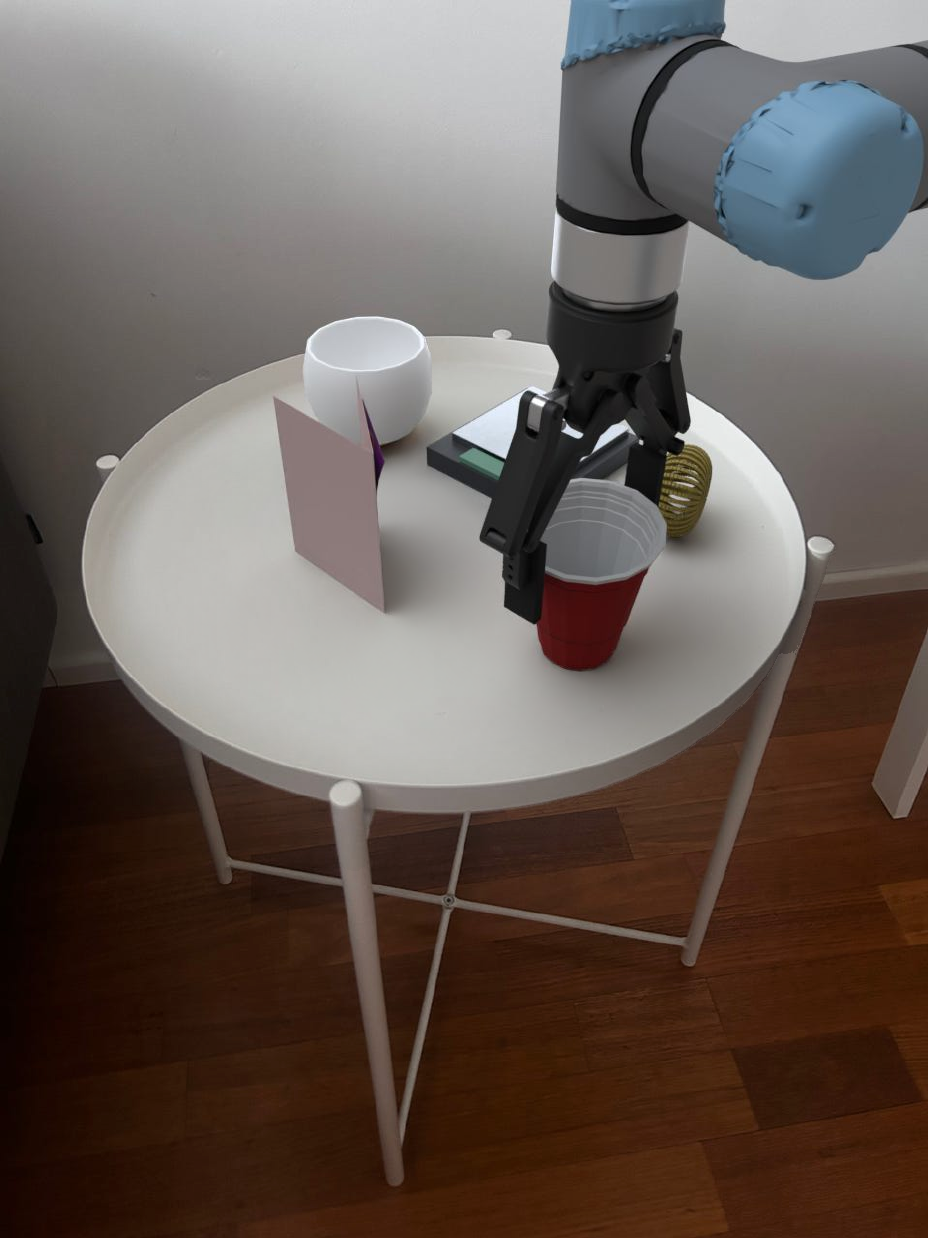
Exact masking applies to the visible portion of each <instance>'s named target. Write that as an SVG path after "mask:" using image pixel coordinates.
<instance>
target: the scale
mask: <svg viewBox="0 0 928 1238" xmlns="http://www.w3.org/2000/svg"><path fill="white" fill-rule="evenodd" d="M527 390H530V391H532V392H535V393H537V394H539V395H543V394H545V393H548V391H545V390H543V389H541V388H538V387H535V386H533V385H531V386H530V387H527V388H525V389H523V390H521V391H519V392H518V393H516V394H515V395H513V396H510V397H509V398H507V399H506V400H504V401H502V402H501V403H499V404H497V405H495V406H493V407H492V408H491V409H489V410H487V411H485V412H483V413H482V414H479V416H477V417H475V418H473V419H472V420H470V421H468V422H466V423H465V424H463V425H461V426H459V427H458V428H456V429H454V430H453V431H451V432H449V433H448V434H446V435H444V436H442V437H441V438H439V439H438V440H436V441H434V442H432V443H431V444H428V445H427V446H426V465H427V466H429V467H431V468H433V469H435V470H437V471H438V472H440V473H442V474H445V475H447V476H448V477H450V478H452V479H454V480H456V481H458V482H460V483H462V484H464V485H465V486H467V487H470V488H471V489H474V490H476V491H478V492H480V493H481V494H483V495H485V496H487V497H489V498H491V499H492V497H493V494H494V491H495V489H496V486H497V483H498V480H499V477H500V474H501V471H502V468H503V465H504V462H505V459H506V456H507V453H508V450H509V448H510V445H511V442H512V439H513V436H514V433H515V430H516V424H517V416H518V409H519V402H520V398H521V396H522V395H523V393H524V392H526V391H527ZM563 420H564V419H563ZM564 421H565V420H564ZM562 432H564V433H566V434H568V435H571V436H573V437H575V438H581V437H582V436H583V434H582V433H580V432H578V431H576V430H574V429H572V428H570V427H569V426H568V425H567V423H566V428H565V429H564V430H563V431H562ZM640 441H641V440H640V439H638V437H637V436H636V435H635V433H631V432H630V427H628V426H626V425H623V424H621V423H619V424H616V425H612V426H611V427H610V428H609V429H608V430H607V431H606V432H605V433H604V434H602V435H601V436H600V438H599V440H598V442H597V444H596V446H595V448H594V450H593V452H592V453H591V455H589V456H586V457H583V458H582V459H581V460H580V462H579V464H578V466H577V468H576V470H575V472H574V474H573V476H572V478H571V480H572V479H579V478H587V479H598V480H605V478H607V477H608V476H610V475H611V474H612V473H614V472H615V471H617V470H618V469H619V468H621V467H622V466H624V465H625V464H627V462H628V455H629V447H630V446H631V445H632V444H634V443H635V442H637V443H639V444H640Z"/></svg>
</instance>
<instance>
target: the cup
mask: <svg viewBox="0 0 928 1238" xmlns="http://www.w3.org/2000/svg"><path fill="white" fill-rule="evenodd" d="M305 346H306V347H305V353H304V359H303V366H302V377H303V385H304V386H303V387H304V395H305V397H306V400H307V402H308V404H309V407H310V409H311V410H312V413H313V416H314V417H315V418H316V421H318V422H320V423H321V424H323V425H325V426H327V427H328V428H330V429H332V430H334V431H335V432H337V433H339V434H341V435H342V436H344V437H346V438H347V439H349V440H351V441H353V442H354V443H356V444H358V445H360V446H361V434H360V421H359V408H358V396H357V383H356V376H357V380H358V385H359V389H360V394H361V398H363V400H364V403H365V406H366V409H367V412H368V415H369V417H370V420H371V423H372V426H373V429H374V432H375V434H376V437H377V440H378V443H379V446H380V447H382V446H383V447H384V446H386V445H389V444H391V443H393V442H396V441H399V440H400V439H403V438H404V437H406V436H407V435H409V434H411V433H412V431H413V430H414V429H415V428H416V427H417V426H418V424H419V423H420V422H421V420H422V419H423V417H425V415H426V413H427V411H428V407H429V403H430V400H431V397H432V393H433V381H432V380H433V379H432V378H433V377H432V374H433V373H432V355H431V352H430V349H429V346H428V343H427V339H426V337H425V335H424V334H422V333H421V332H420V330H419V329H417V327H416V326H414V325H412V324H409V323H407V322H405V321H402V320H401V319H400V320H399V319H396V318H389V317H383V316H355V317H350V318H345V319H340V320H336V321H332V322H331V323H328V324H326V325H324V326H321V327H319V328H318V329H317V330H316V331H314V332H313V334H311V336H310V337H308V339H307V340H306V345H305ZM361 447H362V446H361Z"/></svg>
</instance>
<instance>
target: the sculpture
mask: <svg viewBox="0 0 928 1238" xmlns="http://www.w3.org/2000/svg"><path fill="white" fill-rule="evenodd" d="M692 478H693V479H692ZM712 479H713V463H712V460H711V458H710V456H709V454H708V453H707V452H706V450H705V449H703V448H702V447H700V446H698V445H695V444H689V443H687V444H685V445H684V448H683V450H682V452H681V453H680V455H678V456H675V455H673V454H671V453H668V452H667V460H666V465H665V471H664V477H663V483H662V489H661V495H660V501H659V507H658V509H659V511H660V513H661V514H662V516H663V518H664V520H665V522H666V524H667V531H666V537H671V538H674V537H675V538H679V537H682V536H685V535H686V534H689V533H690V532H691V531H693V530H694V528H696V526H697V524H698V523H699V520H700V519H701V517H702V514H703V512H704V509H705V506H706V503H707V499H708V496H709V493H710V489H711V485H712ZM685 484H687V485H685ZM689 485H691V486H689ZM671 495H672V496H675V497H678V498H682V499H683V500H682V499H677V498H675V497H672V496H671ZM676 505H679V506H676Z"/></svg>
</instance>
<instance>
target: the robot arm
mask: <svg viewBox="0 0 928 1238" xmlns="http://www.w3.org/2000/svg"><path fill="white" fill-rule="evenodd" d="M725 7H726V0H570V6H569V15H568V23H567V33H566V42H565V50H564V56H563V58H562V60H561V62H560V70H561V71H562V72H561V88H560V106H559V107H560V108H559V110H560V111H559V127H558V145H557V165H556V181H555V182H556V184H555V193H556V194H555V215H554V227H553V241H552V251H551V253H552V254H551V263H550V264H551V265H550V272H551V278H552V279H553V281H552V282H551V284H550V285H549V288H548V298H547V314H546V327H545V339H546V343H547V346H548V347H549V349H550V350H551V352H552V353H553V355H554V358H555V359H556V361H557V364H558V368H557V369H558V370H557V372H556V373H557V374H556V377H555V380H554V383H553V385H552V388H551V390H550V391H547V393H545V394H543V395H539V394H537V393H535V392H532V391H530V390H527V391H526V392H524V393H523V395H522V396H521V398H520V402H519V409H518V416H517V424H516V430H515V433H514V436H513V439H512V442H511V445H510V448H509V450H508V453H507V456H506V459H505V462H504V465H503V468H502V471H501V474H500V477H499V480H498V483H497V486H496V489H495V491H494V494H493V497H492V498H491V500H490V504H489V506H488V509H487V513H486V515H485V518H484V521H483V524H482V527H481V530H480V532H479V535H478V538H479V542H480V543H482V544H484V545H486V546H487V547H489V548H491V549H493V550H495V551H497V552H498V553H500V554H502V568H501V569H502V570H501V577H502V581H504V592H503V607H504V609H507V610H508V611H510V612H512V613H513V614H515V615H517V616H518V617H520V618H522V619H523V620H525V621H527V622H528V623H530V624H532V625H533V626H534V625H536V623H537V622H539V621H540V620H541V615H542V603H543V590H544V578H545V565H546V553H547V544H546V543H544V542H542V541H540V540H541V538H542V536H543V534H544V532H545V530H546V528H547V526H548V524H549V522H550V520H551V518H552V516H553V514H554V512H555V510H556V508H557V506H558V504H559V502H560V500H561V498H562V496H563V494H564V492H565V490H566V488H567V486H568V484H569V482H570V480H571V478H572V476H573V474H574V472H575V470H576V468H577V466H578V464H579V462H580V460H581V459H582V458H583V457H586V456H589V455H591V453H592V452H593V450H594V448H595V446H596V444H597V442H598V440H599V438H600V436H601V435H602V434H604V433H605V432H606V431H607V430H608V429H609V428H610V427H611V426H612V425H616V424H621V423H622V422H624V421H625V422H626V423H627V425H628V426H629V428H630V429H631V430H632V432H633V434H634V435H636V436H637V437H638V439H640V441H642V444H641V443H640V442H639V443H637V442H635V443H634V444H632V445H631V446H630V447H629V455H628V462H626V469H625V477H624V478H625V479H624V484H623V485H624V486H627V487H629V488H632V489H635V490H637V491H639V492H640V493H641V494H642V495H644V496H645V497H646V498H648V499H649V500H650V501H651V502H653V503H654V504H655V505H657V507H659V501H660V495H661V489H662V483H663V477H664V471H665V465H666V460H667V454H668V453H671V454H673V455H675V456H678V455H680V453H681V452H682V450H683V448H684V445H686V441H685V440H683V439H682V438H679V437H677V436H676V435H677V434H681V435H685V434H686V433H687V432H688V430H689V429H690V427H691V423H692V418H691V413H690V407H689V402H688V395H687V389H686V383H685V378H684V371H683V365H682V359H681V353H682V345H683V344H682V343H683V336H684V335H683V331H682V329H679V328H676V327H675V323H676V319H677V317H676V316H677V311H678V305H679V294H678V292H677V291H678V290H679V288H680V286H681V285H682V282H683V276H684V269H685V262H686V255H687V248H688V243H689V242H688V240H689V232H690V226H691V223H692V224H694V225H695V226H697V227H698V228H701V229H702V230H704V231H705V232H707V233H709V234H711V235H712V236H715V237H717V238H718V239H720V240H721V241H724V242H725V243H727V244H729V245H730V246H732V247H733V248H736V249H737V251H738V252H739V253H741V254H742V255H744V256H747V257H748V258H749V259H751V260H753V261H755V262H759V261H760V262H762V263H763V264H765V265H766V266H768V267H777V268H780V269H782V270H785V271H787V272H790V273H791V274H794V275H796V276H798V277H801V278H803V279H809V280H812V281H826V280H827V281H828V280H833V279H838V278H840V277H844V276H846V275H848V274H850V273H852V272H854V271H856V270H858V269H859V268H860V267H861V265H862V264H863V262H864V261H865V260H866V257H867V256H868V255H870V254H872V253H877V252H878V253H879V252H880V251H881V250H882V249H883V248H884V247H885V246H886V245H887V244H888V243H889V242H890V241H891V239H892V238H893V237H894V236H895V234H896V233H897V231H898V230H899V228H900V227H901V225H902V224H903V222H904V220H905V219H906V217H907V216H908V214H910V213H914V212H916V211H921V210H925V209H928V39H925V40H922V41H917V42H913V43H904V44H903V43H902V44H896V45H891V46H885V47H880V48H874V49H868V50H863V51H855V52H852V53H851V52H850V53H845V54H839V55H834V56H827V57H823V58H816V59H812V60H806V61H787V60H786V61H785V60H779V59H776V58H772V57H770V56H766V55H762V54H759V53H756V52H752V51H748V50H745V49H743V48H741V47H739V46H738V45H735V44H732V43H730V42H728V41H726V40H723V39H722V37H723V34H725V30H726V28H727V24H726V22H725ZM563 419H564V420H565V421H564V420H563ZM566 423H567V425H568V426H569V427H570V428H572V429H574V430H576V431H578V432H580V433H582V434H583V436H582V437H581V438H575V437H573V436H571V435H568V434H566V433H564V432H562V431H563V430H564V429H565V428H566ZM527 530H528V531H527Z"/></svg>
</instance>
